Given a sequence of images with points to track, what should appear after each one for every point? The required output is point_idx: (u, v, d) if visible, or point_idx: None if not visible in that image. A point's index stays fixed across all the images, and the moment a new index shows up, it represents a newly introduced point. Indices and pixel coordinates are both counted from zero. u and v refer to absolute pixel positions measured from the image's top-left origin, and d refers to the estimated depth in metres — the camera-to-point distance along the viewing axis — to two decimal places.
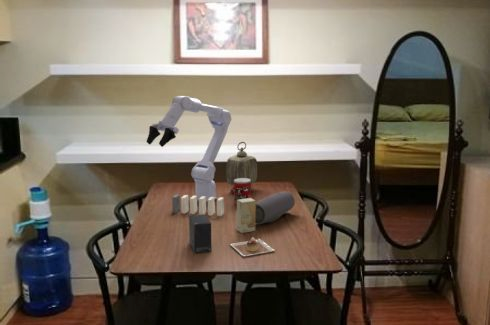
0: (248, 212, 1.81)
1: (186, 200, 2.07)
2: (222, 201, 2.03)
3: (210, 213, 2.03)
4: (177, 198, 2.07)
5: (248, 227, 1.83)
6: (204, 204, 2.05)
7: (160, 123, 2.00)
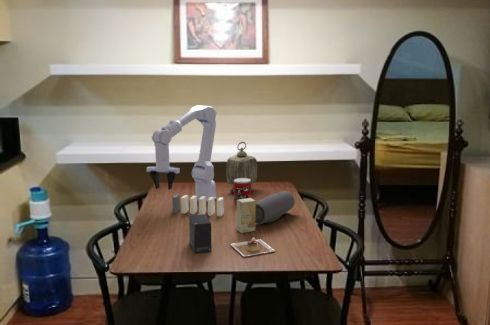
0: (248, 212, 1.81)
1: (186, 200, 2.07)
2: (222, 201, 2.03)
3: (210, 213, 2.03)
4: (177, 198, 2.07)
5: (248, 227, 1.83)
6: (204, 204, 2.05)
7: (159, 171, 2.04)
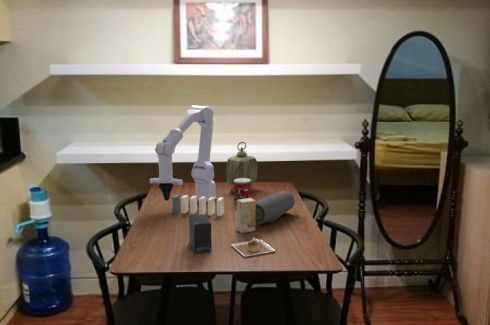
0: (248, 212, 1.81)
1: (186, 200, 2.07)
2: (222, 201, 2.03)
3: (210, 213, 2.03)
4: (177, 198, 2.07)
5: (248, 227, 1.83)
6: (204, 204, 2.05)
7: (162, 182, 2.04)
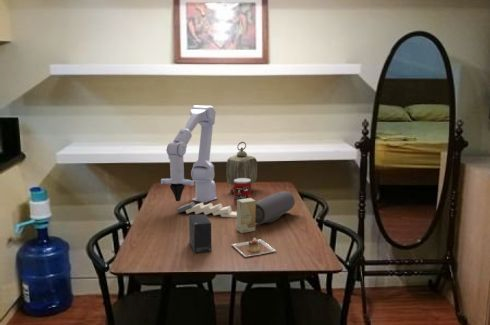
0: (248, 212, 1.81)
1: None
2: None
3: (215, 214, 2.02)
4: None
5: (248, 227, 1.83)
6: None
7: None
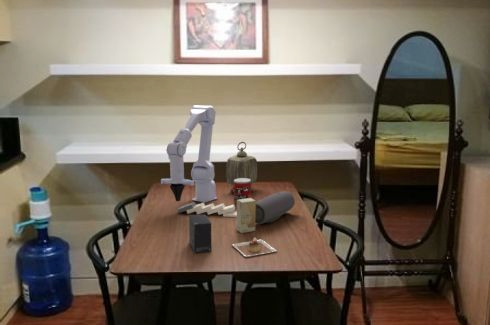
0: (248, 212, 1.81)
1: None
2: None
3: (220, 213, 2.03)
4: (192, 207, 2.07)
5: (248, 227, 1.83)
6: None
7: None
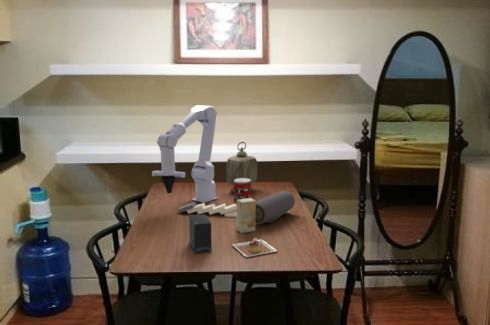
0: (248, 212, 1.81)
1: None
2: None
3: (222, 212, 2.03)
4: (192, 207, 2.07)
5: (248, 227, 1.83)
6: None
7: None
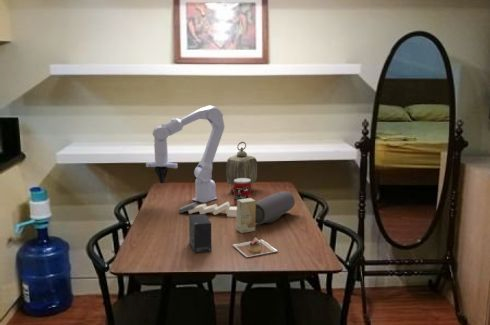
0: (248, 212, 1.81)
1: None
2: None
3: (228, 212, 2.02)
4: (193, 207, 2.07)
5: (248, 227, 1.83)
6: None
7: (158, 166, 2.13)
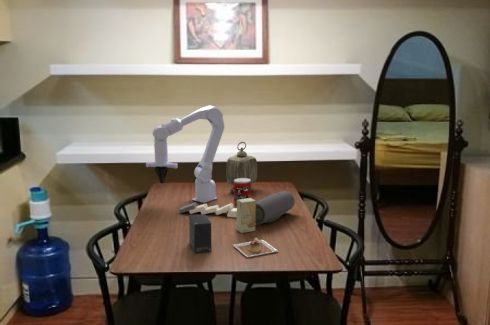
0: (248, 212, 1.81)
1: None
2: None
3: (230, 213, 2.01)
4: None
5: (248, 227, 1.83)
6: None
7: (158, 166, 2.13)
